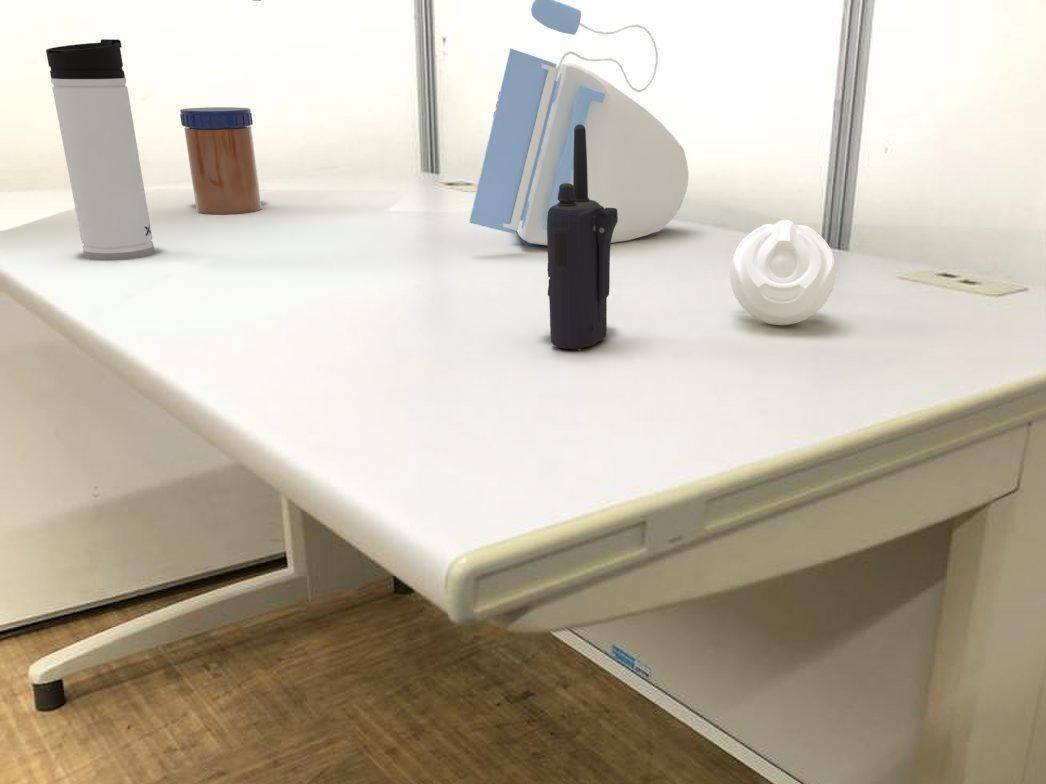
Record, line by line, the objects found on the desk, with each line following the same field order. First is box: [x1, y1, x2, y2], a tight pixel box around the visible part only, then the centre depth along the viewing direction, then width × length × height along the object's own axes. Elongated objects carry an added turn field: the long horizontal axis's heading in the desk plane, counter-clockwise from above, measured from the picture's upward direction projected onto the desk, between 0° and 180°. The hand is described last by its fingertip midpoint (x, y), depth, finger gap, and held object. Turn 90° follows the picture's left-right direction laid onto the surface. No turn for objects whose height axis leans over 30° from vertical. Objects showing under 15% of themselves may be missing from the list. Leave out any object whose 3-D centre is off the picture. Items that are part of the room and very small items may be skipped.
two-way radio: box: [546, 124, 618, 351], centre depth 74 cm, size 6×4×15 cm
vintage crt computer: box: [468, 0, 689, 246], centre depth 115 cm, size 25×23×17 cm
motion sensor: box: [729, 219, 837, 326], centre depth 81 cm, size 8×8×8 cm
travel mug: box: [45, 38, 155, 261], centre depth 100 cm, size 6×7×20 cm
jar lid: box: [179, 106, 254, 128], centre depth 130 cm, size 8×8×2 cm
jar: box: [183, 125, 262, 215], centre depth 132 cm, size 8×8×12 cm
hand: (200, 0), depth 125 cm, fingers open, 12 cm apart
